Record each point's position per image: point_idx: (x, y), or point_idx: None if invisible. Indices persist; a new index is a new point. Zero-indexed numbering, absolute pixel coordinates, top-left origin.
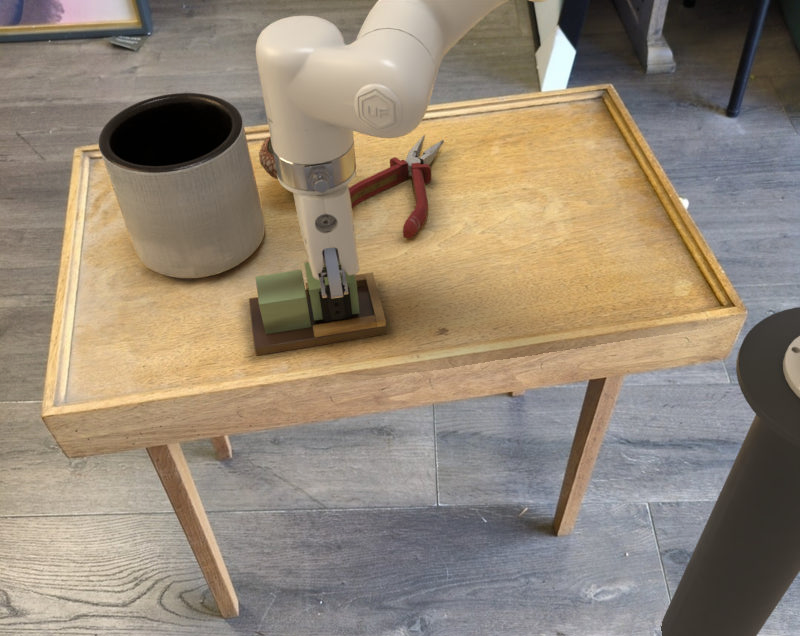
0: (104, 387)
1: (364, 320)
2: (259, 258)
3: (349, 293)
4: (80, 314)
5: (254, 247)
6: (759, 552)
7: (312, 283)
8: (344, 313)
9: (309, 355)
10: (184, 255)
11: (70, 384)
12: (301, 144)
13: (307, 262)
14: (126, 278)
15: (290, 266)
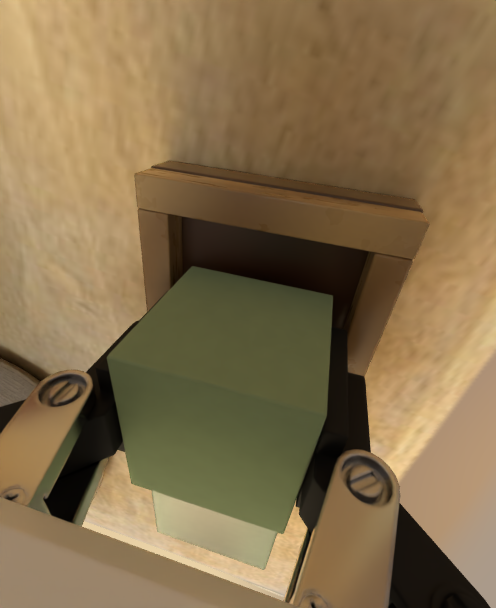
0: (282, 576)
1: (383, 297)
2: (50, 369)
3: (348, 421)
4: (151, 543)
5: (27, 393)
6: None
7: (252, 518)
8: (363, 385)
9: (368, 402)
10: None
11: (262, 586)
12: None
13: (133, 480)
14: (93, 499)
15: (73, 333)
